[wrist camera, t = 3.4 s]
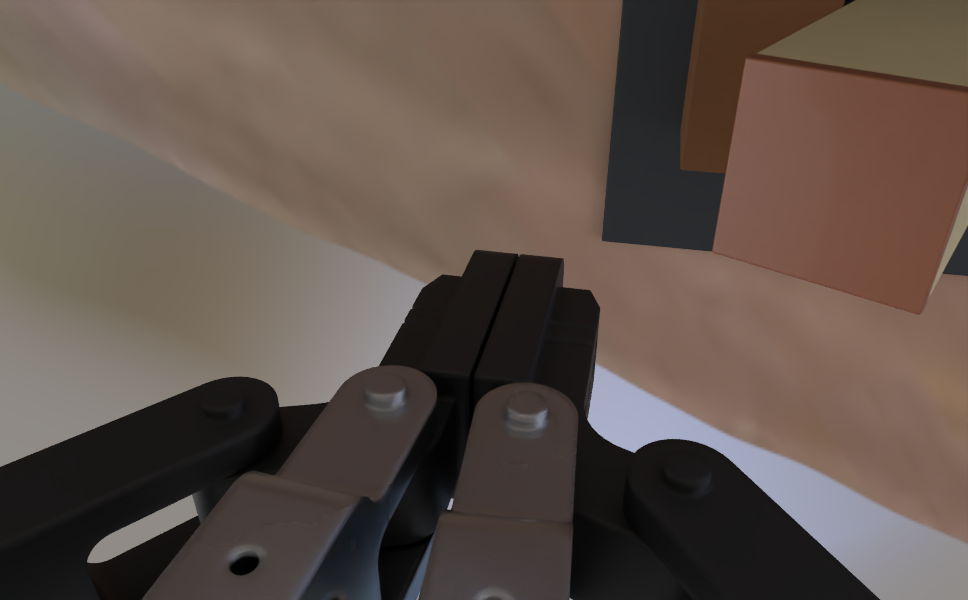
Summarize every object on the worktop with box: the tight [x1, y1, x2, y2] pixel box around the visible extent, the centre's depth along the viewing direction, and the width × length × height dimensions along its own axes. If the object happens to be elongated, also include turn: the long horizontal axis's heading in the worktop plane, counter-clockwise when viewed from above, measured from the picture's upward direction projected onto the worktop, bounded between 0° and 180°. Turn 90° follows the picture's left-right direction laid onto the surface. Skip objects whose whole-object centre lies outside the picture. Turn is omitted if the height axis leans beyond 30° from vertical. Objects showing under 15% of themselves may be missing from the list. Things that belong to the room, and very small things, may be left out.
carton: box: [712, 0, 968, 315], centre depth 22 cm, size 10×5×13 cm, turn 90°
